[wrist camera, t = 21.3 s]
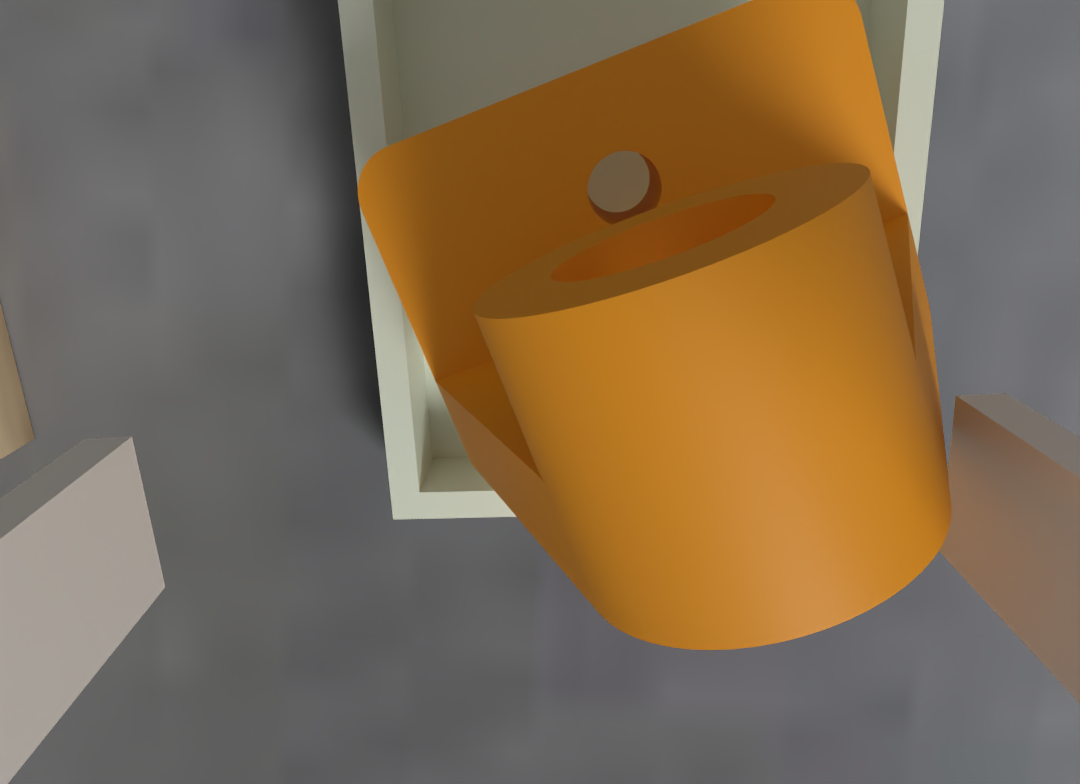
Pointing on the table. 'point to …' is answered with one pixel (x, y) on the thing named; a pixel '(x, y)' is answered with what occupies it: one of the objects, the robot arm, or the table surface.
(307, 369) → the table surface
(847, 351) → the bracket
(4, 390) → the bore block
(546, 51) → the tray
